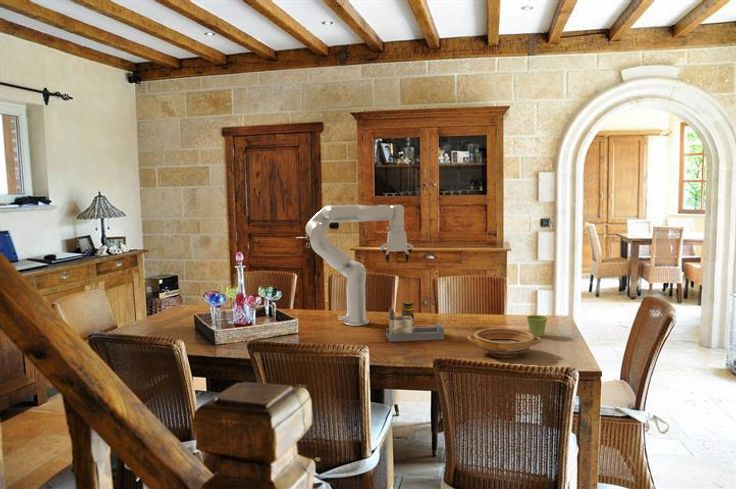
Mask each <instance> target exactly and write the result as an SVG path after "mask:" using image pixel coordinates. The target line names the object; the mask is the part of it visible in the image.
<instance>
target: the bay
mask: <svg viewBox="0 0 736 489" xmlns="http://www.w3.org/2000/svg"><path fill="white" fill-rule="evenodd" d="M444 328H445V327H444V326H443V325H441V323H440V322H436V326H418V327H414V333H408V334H389V327H387V328H385V335H386V337H387V339H388V341H389V342H408V341H409V342H412V341H431V340H432V341H433V340H434V341H435V340H445V332H444V331H445V330H444Z"/></svg>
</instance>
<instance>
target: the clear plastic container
mask: <svg viewBox="0 0 736 489" xmlns="http://www.w3.org/2000/svg"><path fill="white" fill-rule="evenodd" d="M388 314H389V315H388V322H389V324H388V326H389V327H388V328H389V334H408V333H414V326H415V319H414V320H413V319H412V317H411V316H402V315H400V316H399V315H397V316H395V315H394V314H395V310H394V309H393V307H389V308H388Z"/></svg>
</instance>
